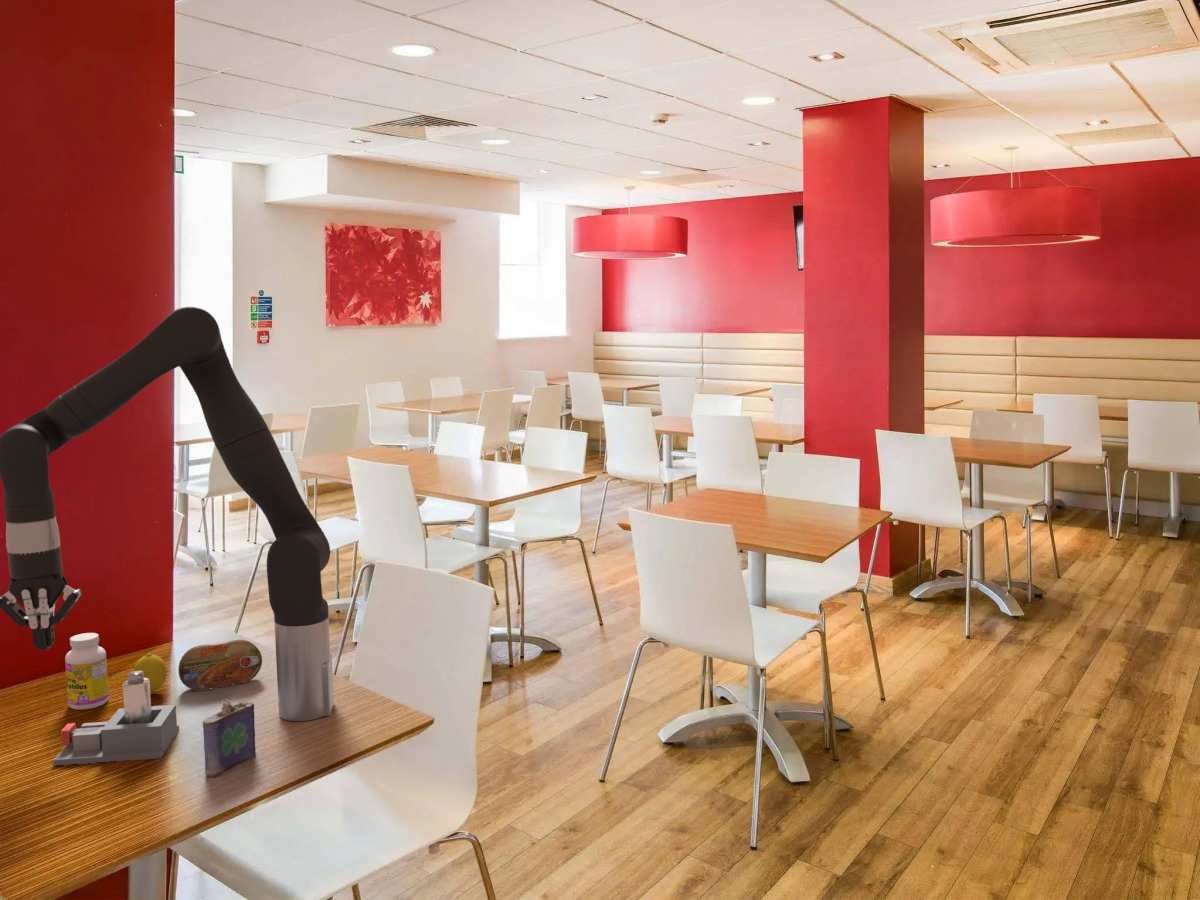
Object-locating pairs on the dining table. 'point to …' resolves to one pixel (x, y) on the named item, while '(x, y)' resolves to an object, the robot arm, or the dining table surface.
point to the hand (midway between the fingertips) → (44, 648)
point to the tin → (219, 664)
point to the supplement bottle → (86, 672)
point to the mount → (122, 739)
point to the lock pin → (71, 729)
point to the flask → (229, 738)
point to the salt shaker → (137, 698)
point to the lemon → (152, 670)
